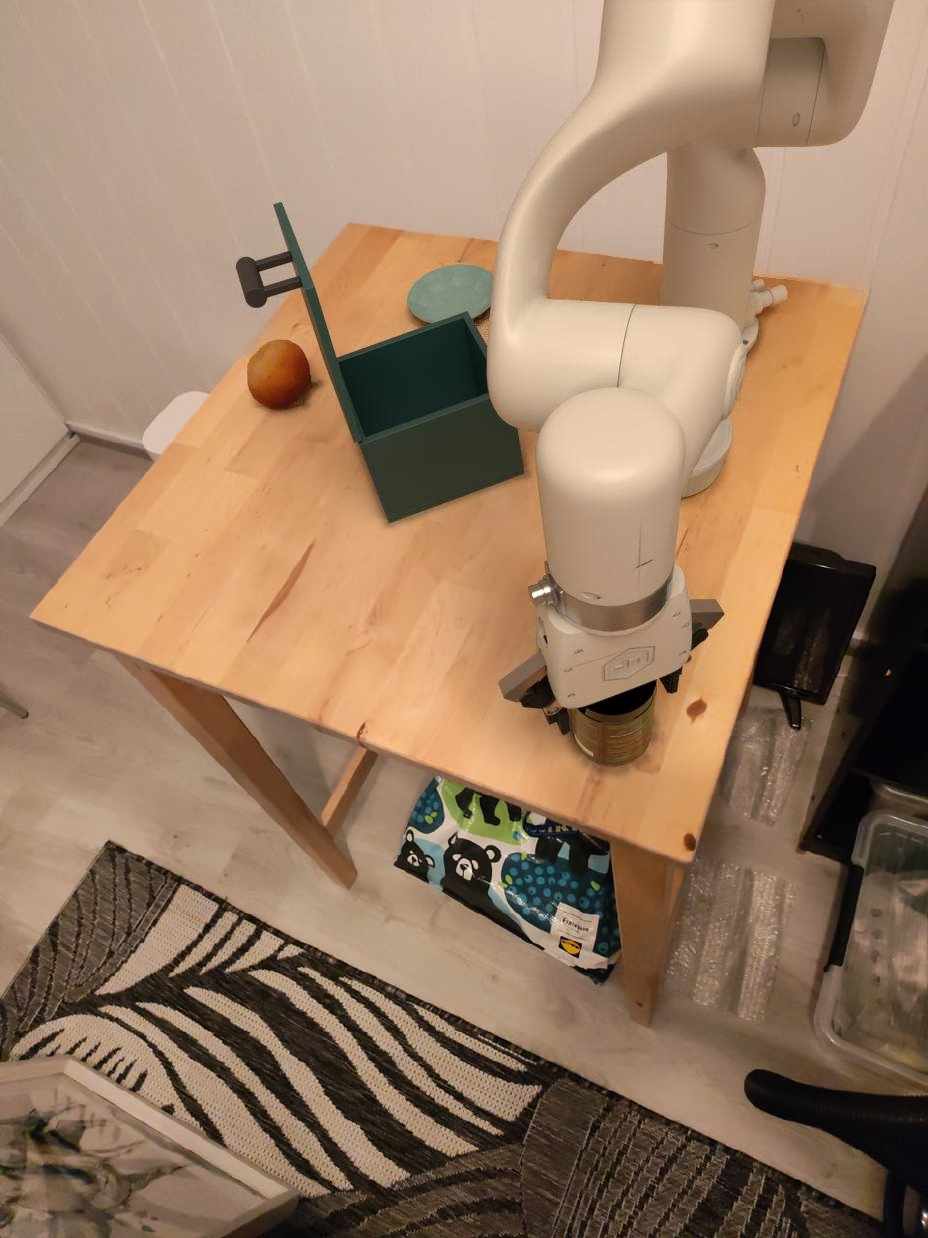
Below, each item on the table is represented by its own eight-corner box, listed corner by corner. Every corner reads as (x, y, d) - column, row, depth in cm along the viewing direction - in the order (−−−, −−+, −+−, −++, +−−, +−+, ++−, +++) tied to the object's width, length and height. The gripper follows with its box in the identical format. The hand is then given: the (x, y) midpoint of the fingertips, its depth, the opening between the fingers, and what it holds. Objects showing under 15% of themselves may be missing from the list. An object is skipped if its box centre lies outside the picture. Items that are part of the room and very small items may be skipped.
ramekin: (665, 413, 88) (667, 375, 83) (750, 460, 82) (758, 423, 78) (595, 473, 85) (594, 437, 80) (679, 526, 79) (683, 491, 75)
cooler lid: (281, 201, 69) (219, 219, 69) (314, 286, 62) (245, 307, 61) (330, 355, 83) (278, 371, 83) (362, 440, 76) (305, 459, 75)
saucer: (510, 280, 105) (508, 264, 103) (487, 340, 99) (484, 325, 97) (426, 277, 108) (422, 262, 106) (399, 335, 102) (395, 320, 100)
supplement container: (669, 731, 68) (676, 673, 60) (614, 784, 66) (614, 733, 58) (610, 682, 72) (609, 621, 63) (556, 732, 70) (548, 676, 61)
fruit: (318, 409, 95) (265, 363, 90) (278, 432, 100) (226, 390, 95) (337, 362, 99) (287, 316, 94) (297, 387, 104) (249, 344, 99)
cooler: (483, 395, 94) (467, 310, 84) (524, 473, 86) (512, 389, 77) (358, 440, 93) (327, 360, 83) (388, 523, 86) (359, 445, 76)
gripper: (499, 671, 47) (526, 779, 61) (772, 568, 47) (735, 698, 62) (459, 576, 51) (494, 698, 65) (711, 482, 52) (690, 623, 66)
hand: (611, 698), depth 64 cm, fingers open, 8 cm apart
